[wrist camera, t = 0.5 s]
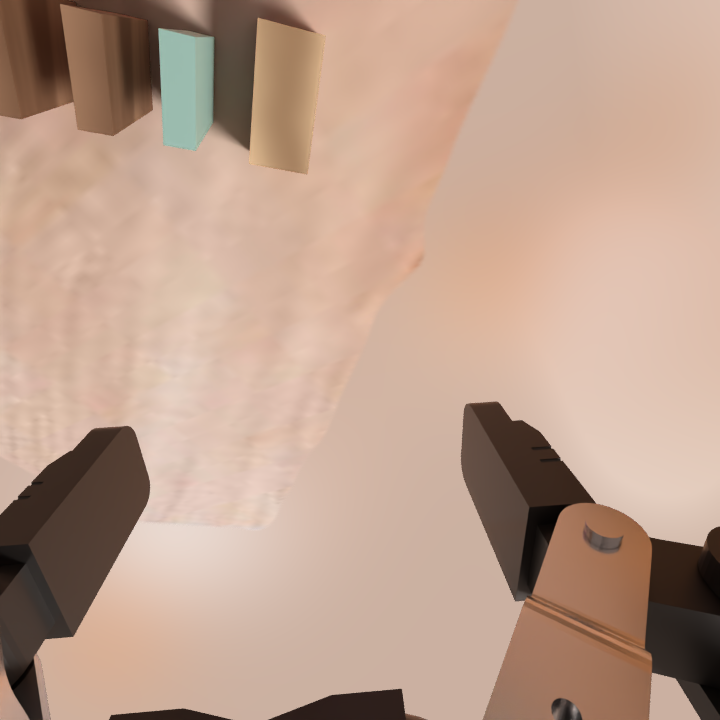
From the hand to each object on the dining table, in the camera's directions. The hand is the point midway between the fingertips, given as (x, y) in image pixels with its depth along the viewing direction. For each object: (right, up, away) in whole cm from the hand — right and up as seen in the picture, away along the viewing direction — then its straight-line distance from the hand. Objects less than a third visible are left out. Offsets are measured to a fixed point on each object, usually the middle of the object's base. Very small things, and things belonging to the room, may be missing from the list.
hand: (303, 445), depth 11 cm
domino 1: (-17, +22, +17) cm, 32 cm away
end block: (-4, +21, +20) cm, 29 cm away
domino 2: (-13, +22, +18) cm, 31 cm away
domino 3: (-9, +21, +19) cm, 30 cm away
